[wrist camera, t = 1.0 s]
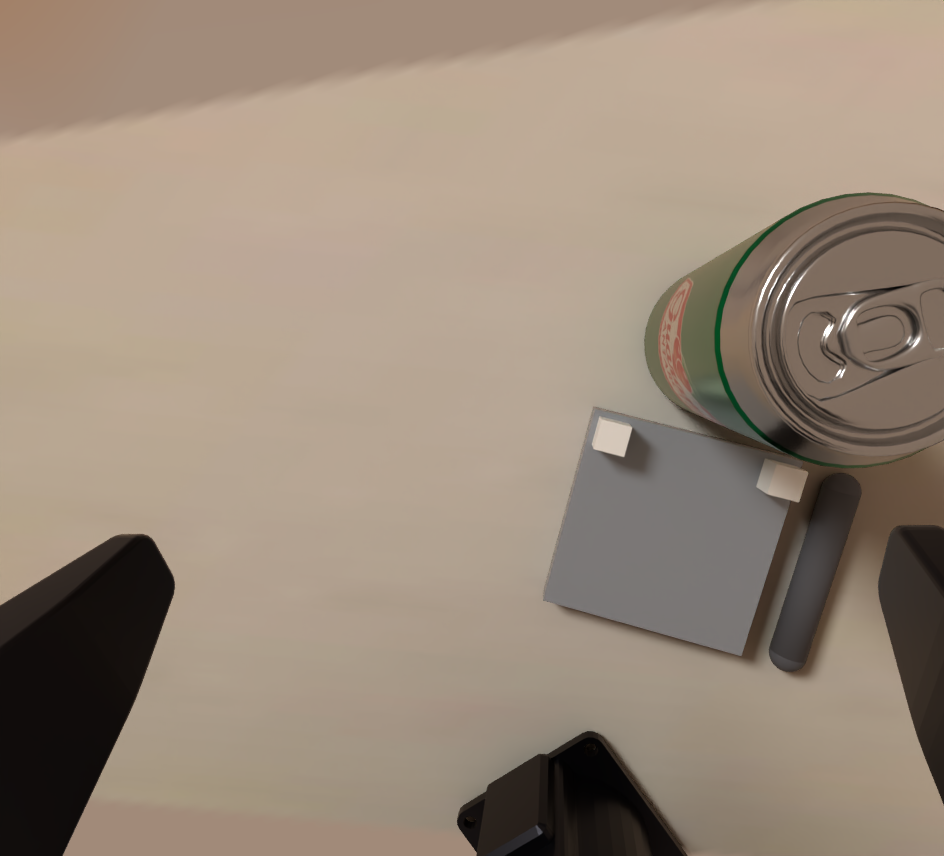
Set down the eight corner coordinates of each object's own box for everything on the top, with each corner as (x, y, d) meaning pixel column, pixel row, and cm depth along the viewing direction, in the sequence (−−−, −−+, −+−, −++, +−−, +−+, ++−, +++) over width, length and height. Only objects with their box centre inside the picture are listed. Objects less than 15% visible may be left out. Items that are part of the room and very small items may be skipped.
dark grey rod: (793, 666, 24) (806, 682, 23) (760, 657, 25) (770, 672, 23) (856, 475, 23) (873, 482, 22) (821, 466, 24) (835, 472, 22)
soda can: (625, 292, 24) (696, 231, 12) (774, 248, 23) (1010, 134, 11) (663, 432, 24) (769, 511, 12) (810, 393, 23) (1078, 434, 11)
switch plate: (733, 644, 24) (751, 672, 22) (543, 590, 25) (542, 613, 23) (792, 457, 23) (817, 467, 21) (593, 406, 24) (597, 411, 22)
